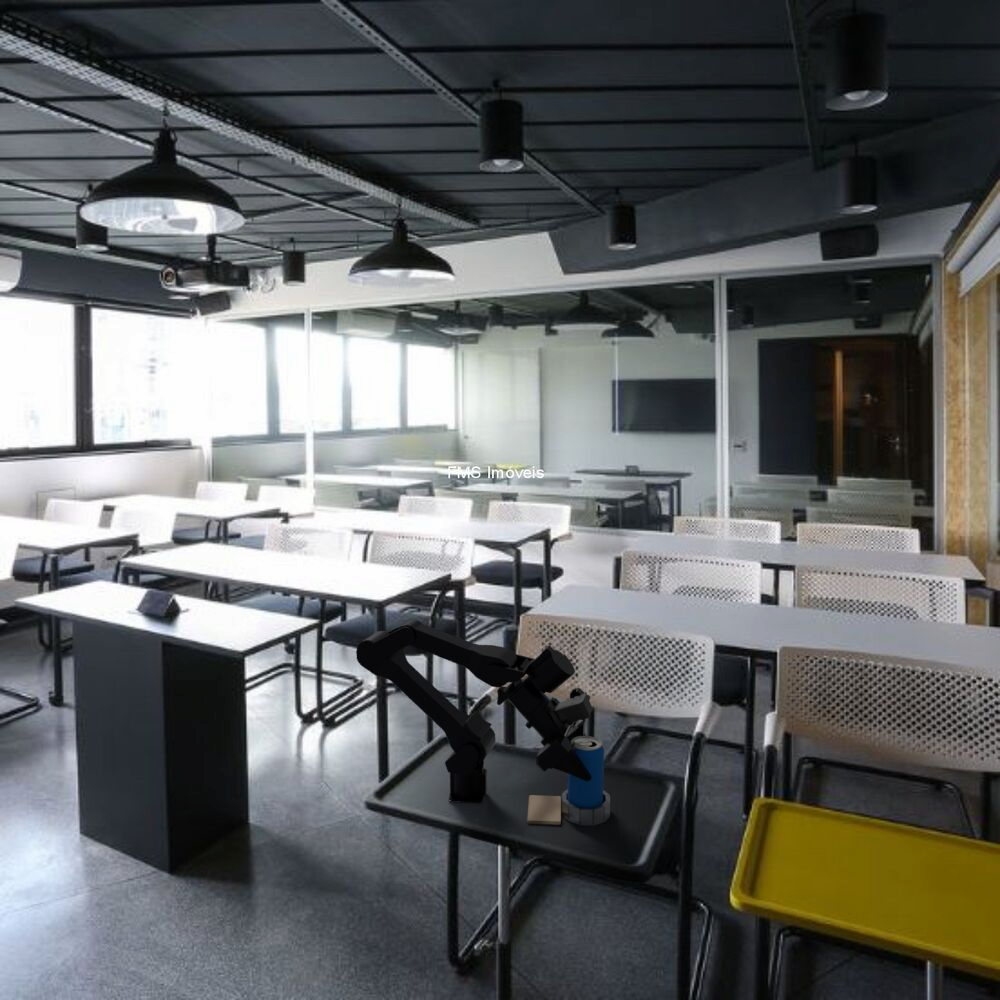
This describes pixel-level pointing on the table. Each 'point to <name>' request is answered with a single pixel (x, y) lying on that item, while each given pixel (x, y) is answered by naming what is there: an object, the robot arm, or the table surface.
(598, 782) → the beverage can
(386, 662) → the robot arm
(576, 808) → the ring
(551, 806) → the cork pad
